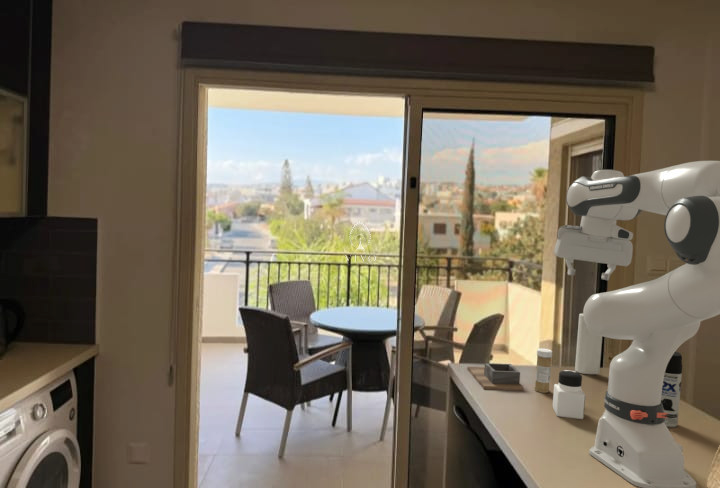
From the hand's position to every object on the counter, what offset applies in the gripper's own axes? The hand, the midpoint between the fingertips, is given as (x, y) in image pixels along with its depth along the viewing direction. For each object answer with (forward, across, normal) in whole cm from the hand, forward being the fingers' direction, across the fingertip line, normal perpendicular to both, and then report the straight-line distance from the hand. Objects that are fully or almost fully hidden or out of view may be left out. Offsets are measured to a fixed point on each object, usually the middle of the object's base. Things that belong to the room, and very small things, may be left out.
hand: (587, 277), depth 141 cm
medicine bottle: (+40, +1, -2) cm, 40 cm away
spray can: (+37, +26, -4) cm, 46 cm away
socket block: (+42, -14, +24) cm, 51 cm away
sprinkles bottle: (+41, -1, +16) cm, 44 cm away
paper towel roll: (+40, +22, +39) cm, 60 cm away
